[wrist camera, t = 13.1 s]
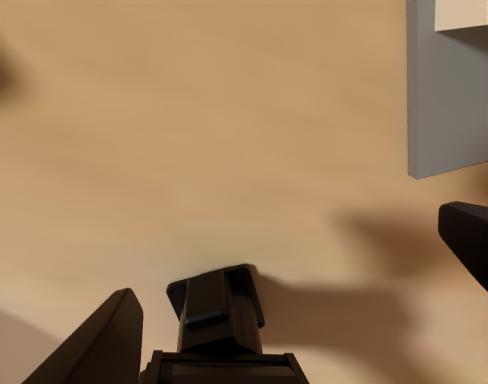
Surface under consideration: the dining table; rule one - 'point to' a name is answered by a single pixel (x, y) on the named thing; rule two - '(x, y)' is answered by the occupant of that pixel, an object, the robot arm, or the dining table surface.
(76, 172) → the dining table surface
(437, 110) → the slotted base
